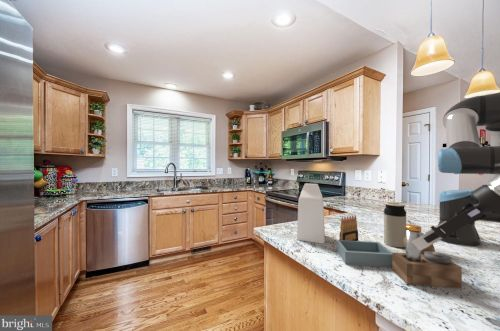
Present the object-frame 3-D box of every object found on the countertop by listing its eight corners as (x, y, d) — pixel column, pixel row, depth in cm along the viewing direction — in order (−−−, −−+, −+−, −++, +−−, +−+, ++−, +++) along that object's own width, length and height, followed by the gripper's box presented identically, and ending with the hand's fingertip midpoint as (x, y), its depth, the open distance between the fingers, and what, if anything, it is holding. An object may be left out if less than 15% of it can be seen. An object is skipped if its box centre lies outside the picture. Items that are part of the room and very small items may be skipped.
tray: (378, 252, 83) (378, 242, 83) (395, 267, 71) (395, 254, 71) (336, 250, 85) (336, 239, 85) (345, 264, 73) (345, 251, 73)
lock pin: (416, 275, 66) (416, 224, 66) (424, 281, 62) (424, 228, 62) (403, 274, 66) (402, 224, 66) (410, 280, 62) (410, 227, 62)
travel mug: (382, 244, 91) (382, 203, 91) (386, 240, 97) (385, 201, 97) (404, 249, 86) (404, 206, 86) (407, 244, 91) (407, 203, 92)
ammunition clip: (342, 245, 91) (342, 217, 91) (339, 243, 92) (339, 216, 92) (358, 240, 96) (358, 214, 96) (354, 239, 97) (354, 214, 98)
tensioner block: (440, 273, 66) (440, 248, 66) (461, 288, 58) (461, 259, 58) (392, 270, 68) (392, 246, 69) (406, 284, 61) (406, 256, 61)
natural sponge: (401, 251, 83) (401, 227, 83) (430, 256, 79) (430, 230, 79) (404, 260, 76) (404, 233, 76) (437, 266, 71) (437, 237, 71)
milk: (296, 239, 97) (296, 184, 98) (300, 232, 108) (300, 182, 108) (323, 243, 93) (323, 185, 93) (325, 235, 104) (324, 183, 104)
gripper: (520, 215, 40) (422, 265, 52) (522, 202, 55) (445, 243, 66) (478, 185, 44) (396, 237, 56) (491, 181, 59) (424, 223, 71)
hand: (423, 240), depth 61 cm, fingers open, 13 cm apart
